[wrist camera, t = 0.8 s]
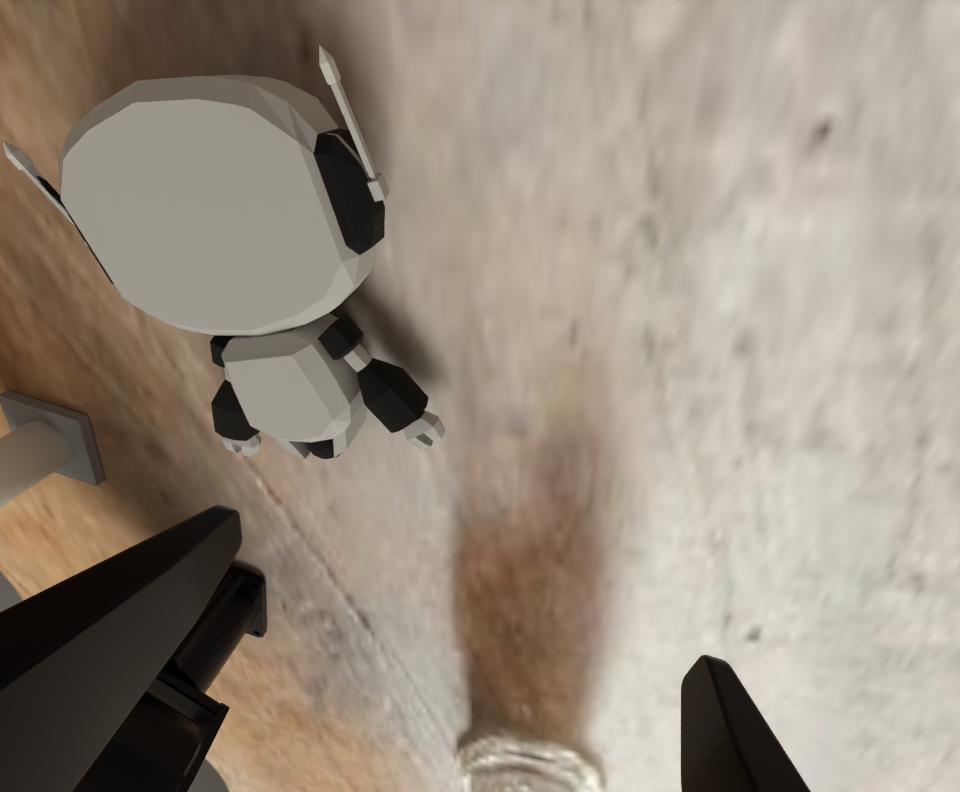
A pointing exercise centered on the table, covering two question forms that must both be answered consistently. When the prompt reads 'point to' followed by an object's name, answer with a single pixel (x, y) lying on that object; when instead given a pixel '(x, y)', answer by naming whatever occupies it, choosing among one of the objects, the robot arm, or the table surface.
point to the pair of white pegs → (44, 445)
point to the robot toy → (245, 246)
